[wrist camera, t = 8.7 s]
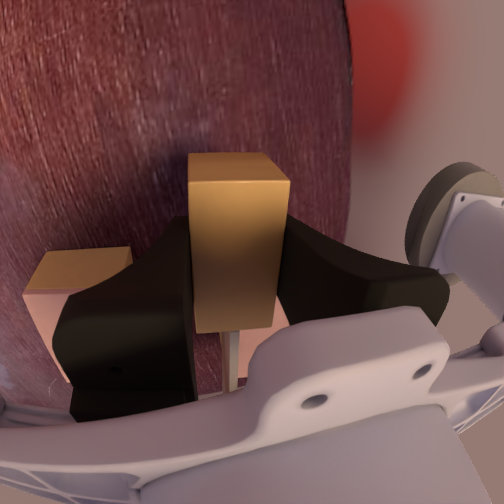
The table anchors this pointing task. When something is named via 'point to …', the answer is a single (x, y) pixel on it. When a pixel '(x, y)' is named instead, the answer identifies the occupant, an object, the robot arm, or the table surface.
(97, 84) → the table surface
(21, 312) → the table surface
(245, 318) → the chisel
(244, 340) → the light tan rectangular block
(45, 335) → the pink rectangular block
